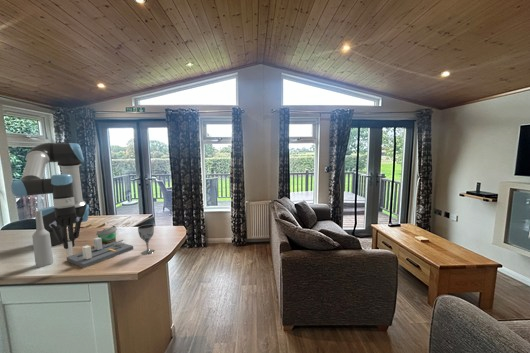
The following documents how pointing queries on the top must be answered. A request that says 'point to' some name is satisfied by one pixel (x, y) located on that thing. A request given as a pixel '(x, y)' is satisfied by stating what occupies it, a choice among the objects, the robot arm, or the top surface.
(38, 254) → the bottle
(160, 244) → the top surface
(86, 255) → the fader
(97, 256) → the console
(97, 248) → the fader
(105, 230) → the food container
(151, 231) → the wine glass
